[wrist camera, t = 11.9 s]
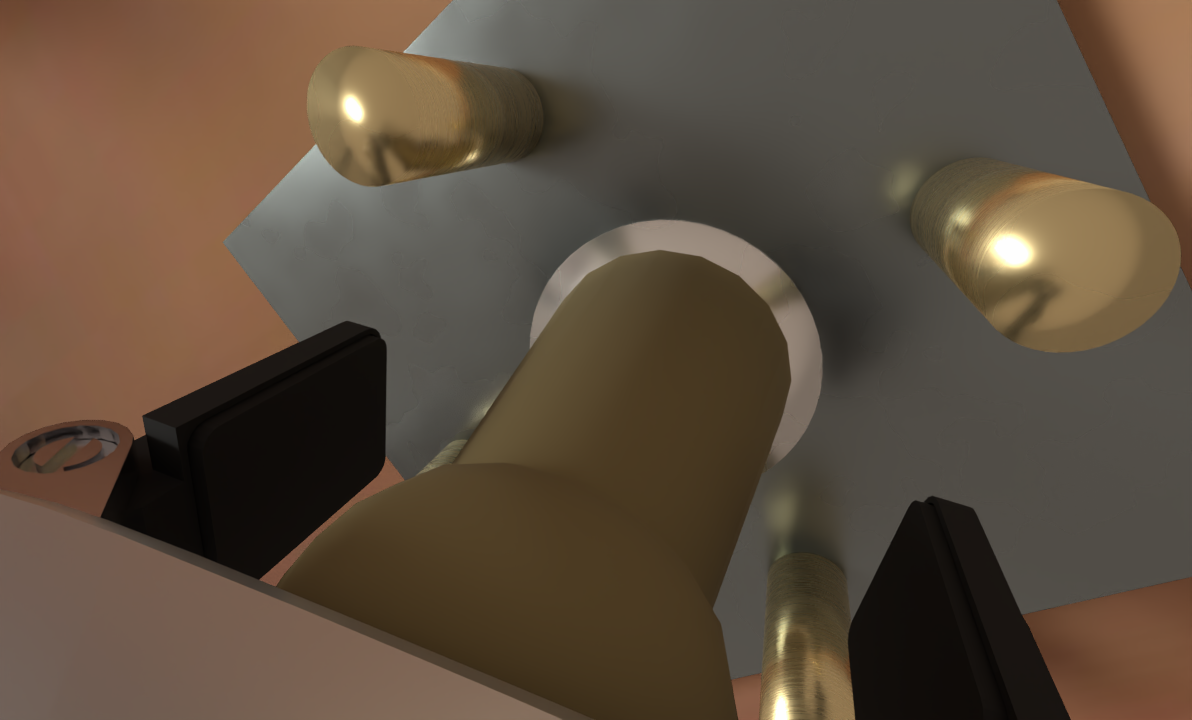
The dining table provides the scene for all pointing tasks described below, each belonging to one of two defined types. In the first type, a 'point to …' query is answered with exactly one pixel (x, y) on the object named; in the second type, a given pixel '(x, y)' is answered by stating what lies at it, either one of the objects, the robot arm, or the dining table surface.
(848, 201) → the chassis plate
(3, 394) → the dining table surface
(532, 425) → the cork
